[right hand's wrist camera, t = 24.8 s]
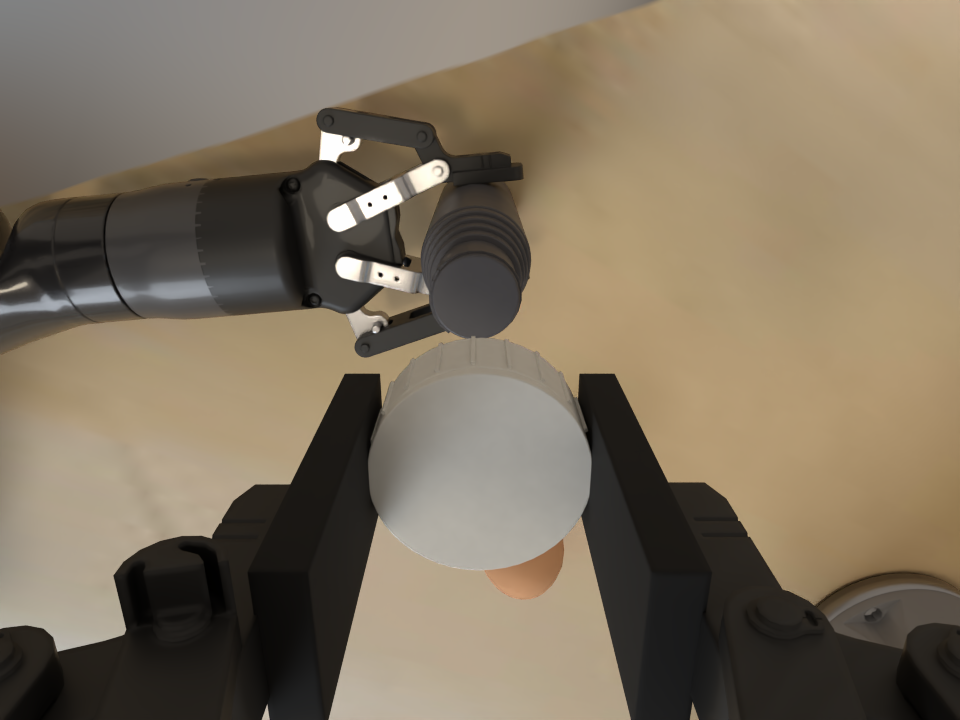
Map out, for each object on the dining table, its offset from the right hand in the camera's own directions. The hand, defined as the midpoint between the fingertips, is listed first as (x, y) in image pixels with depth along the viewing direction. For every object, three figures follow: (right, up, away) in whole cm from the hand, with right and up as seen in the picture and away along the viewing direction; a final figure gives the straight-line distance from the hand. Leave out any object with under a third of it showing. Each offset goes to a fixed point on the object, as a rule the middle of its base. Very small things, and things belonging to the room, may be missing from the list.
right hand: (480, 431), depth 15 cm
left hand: (+2, +9, +22) cm, 24 cm away
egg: (+3, -10, +37) cm, 38 cm away
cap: (0, -1, -2) cm, 2 cm away
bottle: (0, +11, +28) cm, 30 cm away
